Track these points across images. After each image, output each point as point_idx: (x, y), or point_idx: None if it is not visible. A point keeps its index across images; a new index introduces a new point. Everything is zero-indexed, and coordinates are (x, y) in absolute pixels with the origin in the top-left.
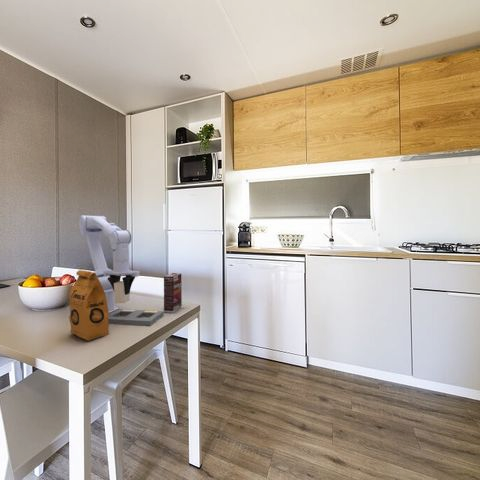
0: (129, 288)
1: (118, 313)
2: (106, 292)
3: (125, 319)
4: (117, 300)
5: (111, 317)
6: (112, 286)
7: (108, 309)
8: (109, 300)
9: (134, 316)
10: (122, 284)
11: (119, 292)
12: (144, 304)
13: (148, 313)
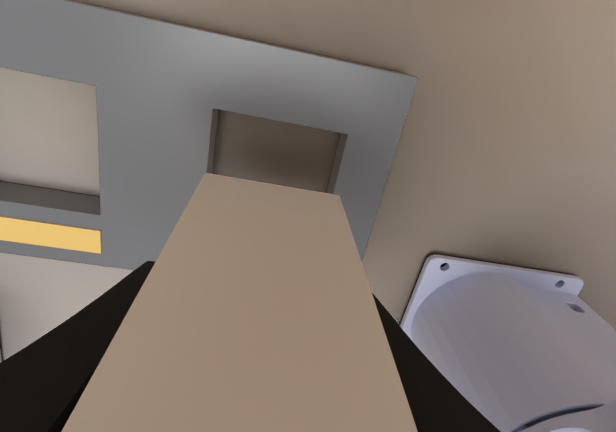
0: None
1: None
2: (534, 427)
3: (165, 33)
4: (297, 201)
5: (335, 101)
6: (446, 391)
7: (441, 299)
8: (464, 361)
9: (119, 116)
10: (108, 406)
11: (252, 261)
12: None
13: (43, 204)
